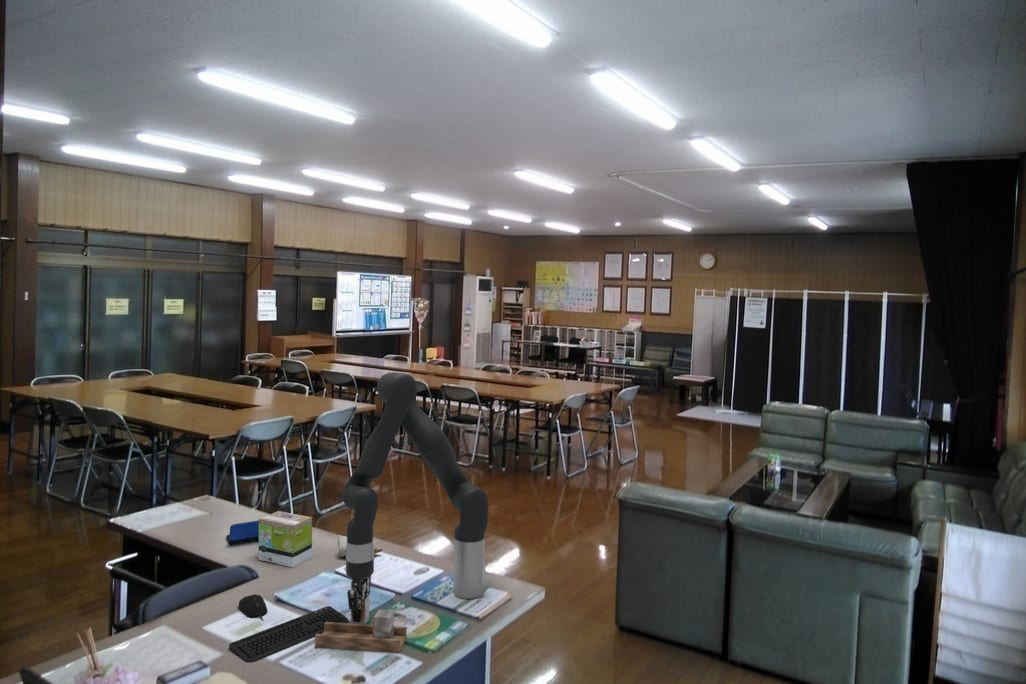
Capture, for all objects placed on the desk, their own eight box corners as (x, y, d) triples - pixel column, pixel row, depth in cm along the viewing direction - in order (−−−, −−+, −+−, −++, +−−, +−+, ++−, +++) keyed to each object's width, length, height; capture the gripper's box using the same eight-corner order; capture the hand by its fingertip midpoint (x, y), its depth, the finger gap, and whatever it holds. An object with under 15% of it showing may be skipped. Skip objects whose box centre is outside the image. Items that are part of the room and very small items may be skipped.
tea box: (257, 561, 228) (257, 518, 227) (278, 551, 237) (278, 509, 236) (293, 568, 222) (293, 524, 221) (313, 557, 231) (313, 515, 231)
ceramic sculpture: (347, 525, 239) (384, 533, 234) (346, 549, 240) (383, 557, 235) (329, 535, 229) (368, 544, 224) (328, 560, 229) (367, 569, 225)
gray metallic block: (369, 618, 188) (369, 593, 188) (364, 626, 184) (364, 601, 183) (355, 617, 189) (355, 593, 188) (350, 625, 184) (350, 600, 184)
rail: (406, 637, 178) (406, 608, 177) (399, 652, 170) (399, 621, 170) (325, 632, 180) (325, 603, 179) (315, 647, 172) (314, 616, 172)
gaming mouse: (251, 625, 184) (251, 611, 184) (235, 605, 195) (235, 592, 195) (274, 619, 188) (274, 605, 187) (257, 600, 199) (257, 586, 199)
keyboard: (249, 666, 164) (249, 658, 164) (228, 650, 171) (228, 643, 171) (351, 623, 186) (351, 616, 186) (329, 611, 193) (329, 604, 193)
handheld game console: (269, 531, 257) (269, 507, 257) (276, 542, 246) (276, 517, 245) (225, 538, 249) (225, 513, 249) (230, 550, 238) (230, 524, 237)
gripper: (365, 567, 178) (364, 630, 179) (380, 548, 192) (380, 606, 193) (337, 566, 178) (337, 628, 179) (355, 546, 193) (354, 604, 194)
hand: (359, 616), depth 186 cm, fingers closed on gray metallic block, 4 cm apart
